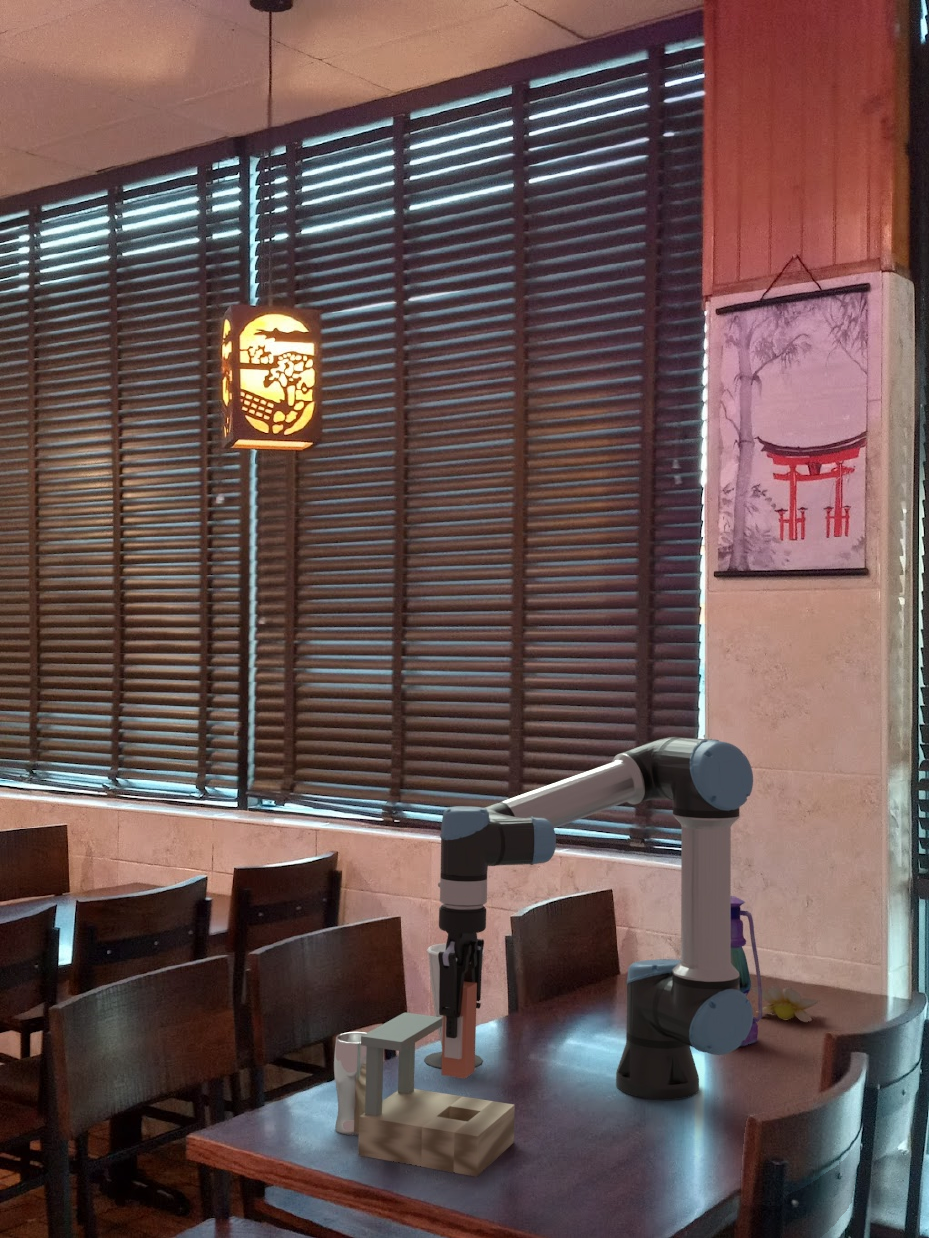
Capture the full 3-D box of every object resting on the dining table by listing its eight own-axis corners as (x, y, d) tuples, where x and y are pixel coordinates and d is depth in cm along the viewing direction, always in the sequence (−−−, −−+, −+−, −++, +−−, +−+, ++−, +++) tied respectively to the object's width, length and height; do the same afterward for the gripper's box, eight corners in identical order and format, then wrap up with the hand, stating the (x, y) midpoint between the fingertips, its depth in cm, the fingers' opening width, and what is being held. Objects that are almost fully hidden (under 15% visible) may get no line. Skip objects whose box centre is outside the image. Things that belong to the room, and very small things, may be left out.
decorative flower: (834, 1010, 294) (828, 967, 292) (818, 1032, 284) (811, 989, 283) (770, 1004, 302) (764, 962, 301) (752, 1026, 293) (746, 983, 292)
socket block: (513, 1142, 212) (514, 1104, 213) (476, 1176, 198) (477, 1136, 198) (402, 1123, 220) (402, 1086, 220) (358, 1155, 205) (359, 1116, 206)
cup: (490, 1056, 259) (492, 945, 260) (471, 1072, 248) (474, 957, 249) (436, 1049, 263) (438, 940, 264) (415, 1065, 252) (417, 952, 253)
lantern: (692, 1043, 271) (694, 897, 272) (703, 1029, 282) (705, 888, 283) (757, 1051, 266) (759, 902, 267) (766, 1037, 277) (768, 894, 278)
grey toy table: (441, 1092, 218) (442, 1017, 218) (399, 1123, 203) (401, 1041, 203) (402, 1086, 220) (404, 1012, 221) (359, 1116, 206) (361, 1036, 206)
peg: (474, 1071, 209) (476, 982, 210) (464, 1078, 205) (467, 987, 206) (451, 1067, 211) (453, 979, 211) (441, 1074, 207) (443, 985, 208)
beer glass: (332, 1121, 220) (335, 1031, 221) (374, 1121, 221) (376, 1031, 221) (332, 1136, 213) (334, 1043, 214) (375, 1136, 214) (377, 1043, 214)
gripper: (461, 894, 218) (458, 1037, 217) (419, 911, 203) (414, 1064, 202) (504, 898, 215) (500, 1043, 215) (463, 915, 200) (459, 1071, 199)
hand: (459, 1053), depth 208 cm, fingers closed on peg, 4 cm apart
